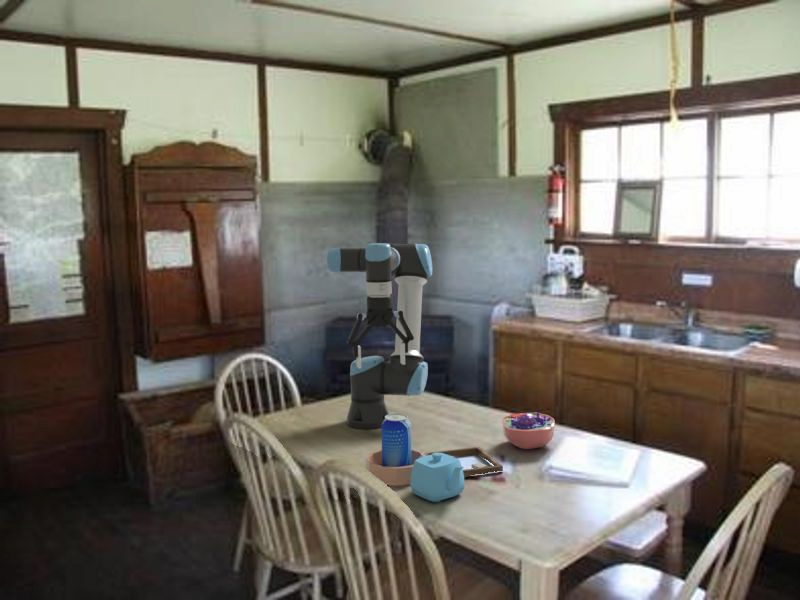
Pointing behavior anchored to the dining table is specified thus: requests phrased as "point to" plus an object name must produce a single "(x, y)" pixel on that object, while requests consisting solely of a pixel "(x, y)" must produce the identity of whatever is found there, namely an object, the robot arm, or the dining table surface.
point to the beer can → (396, 441)
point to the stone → (478, 465)
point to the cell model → (528, 429)
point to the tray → (473, 451)
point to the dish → (391, 469)
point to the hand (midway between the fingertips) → (381, 365)
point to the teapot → (437, 477)
